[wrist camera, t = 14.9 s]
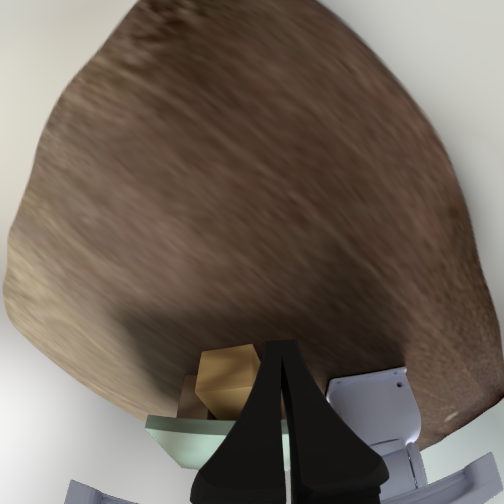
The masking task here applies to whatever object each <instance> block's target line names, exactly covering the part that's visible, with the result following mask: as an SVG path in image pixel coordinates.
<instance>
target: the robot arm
mask: <svg viewBox="0 0 504 504" xmlns="http://www.w3.org/2000/svg"><path fill="white" fill-rule="evenodd" d="M406 371H407V369H406V367H400V368H395V369H390V370H385V371H380V372H375V373H369V374H363V375H356V376H350V377H343V378H335V379H332V380H331V381H330V383H329V387H328V391H327V394H326V398H325V396H324V395H323V393H322V392H321V390H320V389H319V387H318V385H317V384H316V382H315V380H314V379H313V377H312V375H311V373H310V371H309V370H308V368H307V366H306V364H305V361H304V359H303V357H302V355H301V352H300V350H299V347H298V344H297V341H296V340H281V341H266V342H265V343H264V345H263V354H262V359H261V363H260V366H259V370H258V373H257V376H256V379H255V382H254V384H253V387H252V389H251V392H250V394H249V396H248V399H247V401H246V403H245V405H244V407H243V409H242V411H241V413H240V415H239V417H238V418H237V420H236V422H235V423H234V425H233V427H232V428H231V430H230V432H229V433H228V435H227V436H226V437H225V439H224V440H223V442H222V443H221V444H220V446H219V447H218V448H217V450H216V451H215V452H214V454H213V455H212V456H211V457H210V458H209V459H208V461H207V462H206V463H205V464H204V465H203V466H202V467H201V468H200V470H199V471H198V473H197V475H196V477H195V479H194V482H193V485H192V488H191V495H190V502H191V503H192V504H286V485H285V469H284V455H283V441H282V426H281V411H280V407H281V390H282V396H283V402H284V409H285V415H286V421H287V427H288V435H289V451H290V476H291V504H484V503H485V502H487V501H488V500H489V499H491V498H493V497H494V496H495V495H497V494H498V493H500V492H501V491H502V490H503V485H502V482H501V478H500V475H499V472H498V469H497V465H496V463H495V460H494V456H493V453H492V452H489V453H487V454H486V455H484V456H482V457H480V458H479V459H477V460H475V461H473V462H472V463H470V464H469V465H467V466H466V467H465V468H464V469H462V470H460V471H458V472H456V473H454V474H451V475H449V476H447V477H445V478H443V479H440V480H438V481H436V482H434V483H431V484H428V482H427V477H426V473H425V469H424V465H423V461H422V458H421V454H420V451H419V448H418V445H417V444H415V443H413V442H414V441H416V439H417V438H418V436H419V433H420V430H421V417H420V412H419V409H418V406H417V403H416V401H415V398H414V395H413V393H412V390H411V388H410V385H409V383H408V380H407V378H406V375H405V373H406ZM339 413H342V418H343V420H342V419H341V417H340V416H339V415H338V414H339ZM406 445H407V446H408V450H409V451H408V452H407V448H406ZM408 453H409V455H408ZM409 456H410V459H409ZM414 478H415V479H414ZM415 480H416V483H415ZM416 484H417V486H416ZM64 504H138V503H134V502H130V501H127V500H123V499H120V498H116V497H113V496H110V495H107V494H104V493H102V492H100V491H99V490H97V489H94V488H92V487H89V486H87V485H84V484H82V483H79V482H77V481H74V480H71V481H70V484H69V488H68V491H67V495H66V499H65V503H64Z"/></svg>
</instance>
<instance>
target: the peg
mask: <svg viewBox="0 0 504 504" xmlns="http://www.w3.org/2000/svg"><path fill="white" fill-rule="evenodd" d="M259 366H260V360H259V358H258V356H257V353H256V351H255V349H254V346H253V344H248V345H243V346H237V347H230V348H224V349H217V350H210V351H203V352H202V354H201V359H200V365H199V370H198V376H197V382H196V387H195V393H196V395H197V396H198V397H199V398H200V400H201V401H202V402H203V403H204V404H205V406H206V407H207V408H208V409H209V410H210V412H211V413H212V414H213V415H214V416H215V417H216V418H217V420H218V421H236V420H237V418H238V417H239V415H240V413H241V411H242V409H243V407H244V405H245V403H246V401H247V399H248V396H249V394H250V392H251V389H252V387H253V384H254V382H255V379H256V376H257V373H258V370H259Z"/></svg>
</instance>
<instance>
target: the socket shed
mask: <svg viewBox="0 0 504 504" xmlns="http://www.w3.org/2000/svg"><path fill="white" fill-rule="evenodd" d="M197 376H198V375H185V378H184V382H183V387H182V392H181V397H180V402H179V407H178V412H177V417H176V418H173V417H163V416H155V415H148V417H147V421H146V426H145V429H146V430H147V431H148V432H149V433H150V435H151V436H152V437H153V438H154V439H155V440H156V441H157V442H158V444H159V445H160V446H161V447H162V448H163V449H164V450H165V451H166V452H167V453H168V454H169V455H170V456H171V457H172V458H173V459H174V460H175V461H176V462H177V463H178V464H179V465H180V466H181V467H182V468H187V469H197V470H200V468H201V467H202V466H203V465H204V464H205V463H206V462H207V461H208V459H209V458H210V457H211V456H212V455H213V454H214V452H215V451H216V450H217V448H218V447H219V446H220V444H221V443H222V442H223V440H224V439H225V437H226V436H227V435H228V433H229V432H230V430H231V428H232V427H233V425H234V423H235V422H236V421H218V420H217V418H216V417H215V416H214V415H213V414H212V413H211V412H210V410H209V409H208V408H207V407H206V406H205V404H204V403H203V402H202V401H201V400H200V398H199V397H198V396H197V395H196V393H195V387H196V382H197ZM280 411H281V426H282V441H283V455H284V469H285V471H290V451H289V435H288V427H287V421H286V415H285V409H284V402H283V396H282V390H281V407H280ZM338 415H339V416H340V417H341V419H342V420H343V418H342V413H339V414H338Z"/></svg>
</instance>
